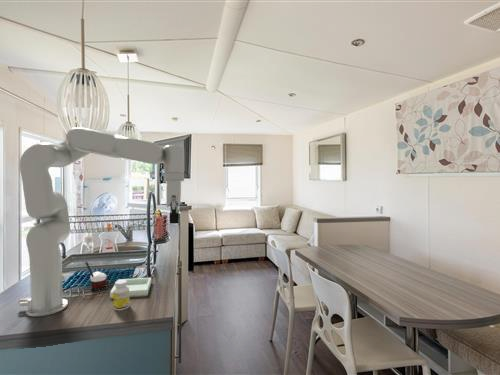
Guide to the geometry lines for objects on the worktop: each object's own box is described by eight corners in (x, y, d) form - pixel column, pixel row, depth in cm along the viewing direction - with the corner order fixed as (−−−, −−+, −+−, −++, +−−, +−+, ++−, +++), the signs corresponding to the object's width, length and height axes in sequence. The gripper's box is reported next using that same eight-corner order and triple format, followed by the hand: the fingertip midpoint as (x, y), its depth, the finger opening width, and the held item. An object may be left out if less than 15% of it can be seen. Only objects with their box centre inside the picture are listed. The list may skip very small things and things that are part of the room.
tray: (110, 298, 116) (110, 292, 116) (118, 285, 130) (118, 279, 129) (147, 295, 119) (147, 289, 119) (151, 282, 133) (151, 277, 132)
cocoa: (108, 284, 132) (109, 257, 132) (109, 288, 126) (110, 260, 126) (84, 286, 127) (85, 259, 127) (84, 291, 122) (85, 262, 122)
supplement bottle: (114, 305, 110) (113, 279, 110) (129, 303, 112) (129, 278, 112) (112, 312, 105) (112, 285, 105) (129, 309, 107) (128, 283, 106)
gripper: (165, 176, 121) (165, 217, 122) (162, 177, 104) (162, 225, 105) (184, 176, 123) (184, 217, 124) (184, 178, 106) (184, 224, 107)
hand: (174, 221), depth 115 cm, fingers open, 9 cm apart
